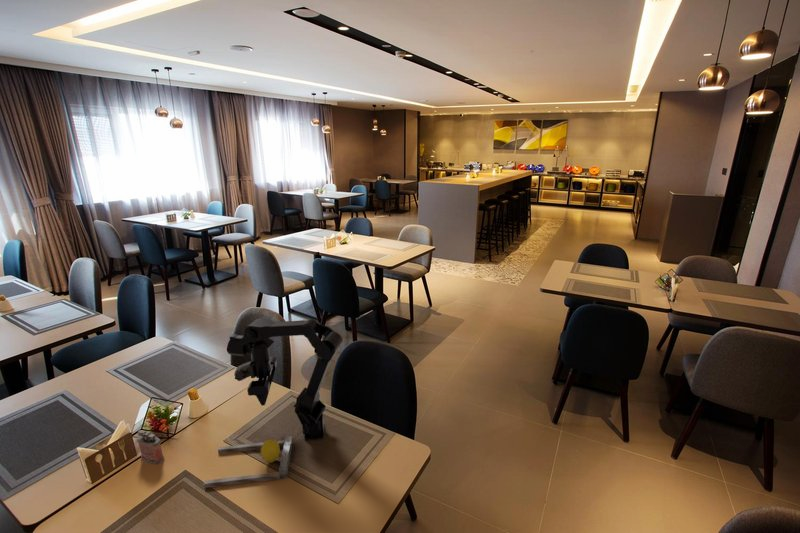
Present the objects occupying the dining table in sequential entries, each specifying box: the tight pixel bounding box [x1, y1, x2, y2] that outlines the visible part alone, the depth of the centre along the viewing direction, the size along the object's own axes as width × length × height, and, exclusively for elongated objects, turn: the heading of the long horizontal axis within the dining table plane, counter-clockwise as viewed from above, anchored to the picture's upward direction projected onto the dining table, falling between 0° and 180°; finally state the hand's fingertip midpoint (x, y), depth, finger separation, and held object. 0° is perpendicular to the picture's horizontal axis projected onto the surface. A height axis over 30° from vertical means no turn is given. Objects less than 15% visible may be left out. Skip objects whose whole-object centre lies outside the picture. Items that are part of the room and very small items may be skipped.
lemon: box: [260, 438, 281, 464], centre depth 120 cm, size 6×6×8 cm
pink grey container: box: [136, 429, 165, 465], centre depth 122 cm, size 8×3×10 cm, turn 71°
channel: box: [203, 435, 293, 489], centre depth 120 cm, size 23×14×3 cm, turn 98°
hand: (265, 396), depth 133 cm, fingers open, 9 cm apart
